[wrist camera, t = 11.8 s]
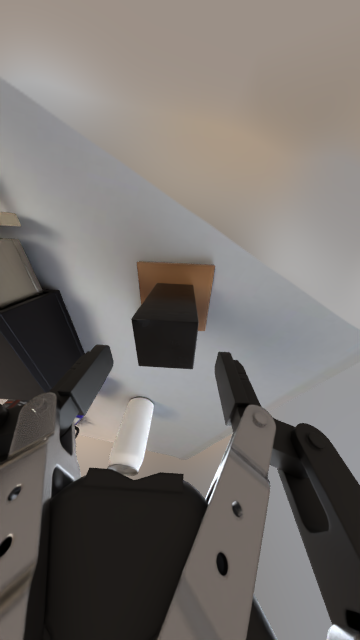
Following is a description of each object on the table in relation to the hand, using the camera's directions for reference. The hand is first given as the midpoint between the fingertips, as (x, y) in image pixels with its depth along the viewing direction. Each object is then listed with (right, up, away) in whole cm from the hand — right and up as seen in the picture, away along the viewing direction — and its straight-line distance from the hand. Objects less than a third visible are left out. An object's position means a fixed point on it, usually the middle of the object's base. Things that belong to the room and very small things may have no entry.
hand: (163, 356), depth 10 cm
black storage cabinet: (-25, +1, +15) cm, 29 cm away
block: (0, +6, +10) cm, 11 cm away
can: (-9, -19, +25) cm, 33 cm away
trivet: (+1, +6, +11) cm, 12 cm away
